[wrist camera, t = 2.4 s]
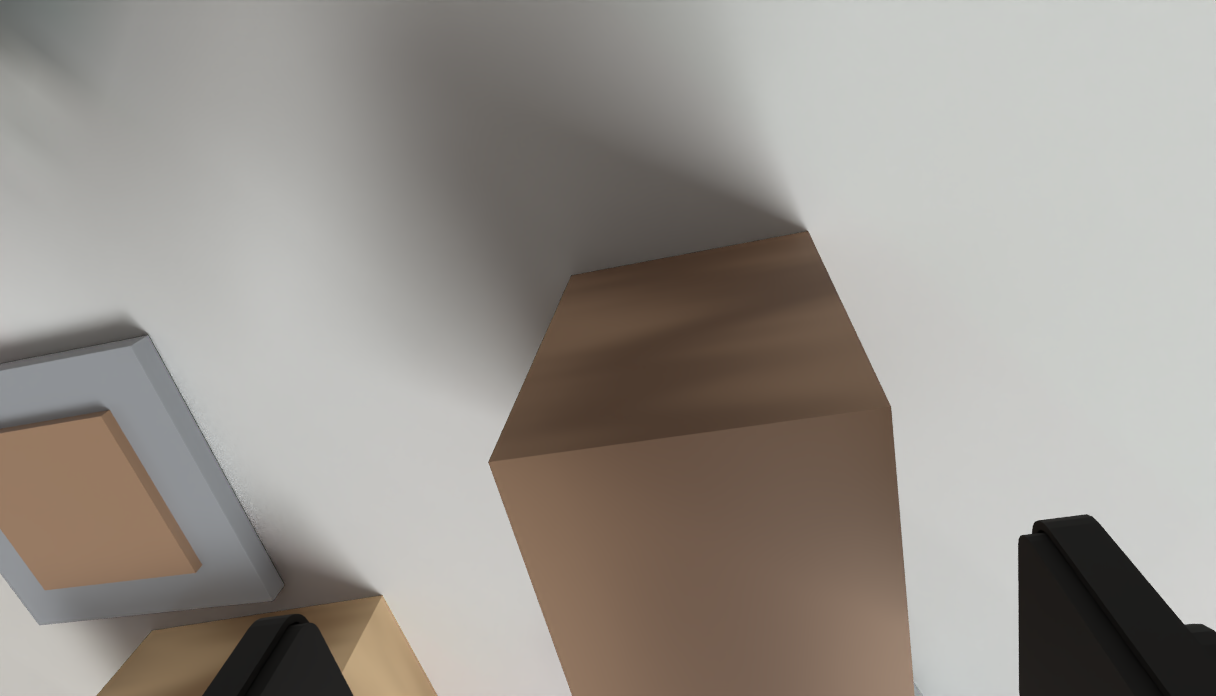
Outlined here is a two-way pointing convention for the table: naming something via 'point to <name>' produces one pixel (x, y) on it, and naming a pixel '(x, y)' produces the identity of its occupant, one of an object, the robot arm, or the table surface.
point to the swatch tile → (116, 493)
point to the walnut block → (710, 483)
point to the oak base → (354, 630)
